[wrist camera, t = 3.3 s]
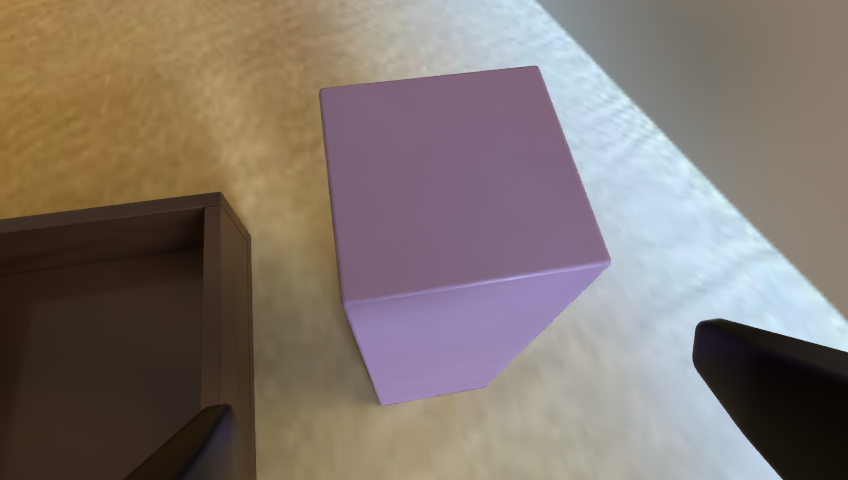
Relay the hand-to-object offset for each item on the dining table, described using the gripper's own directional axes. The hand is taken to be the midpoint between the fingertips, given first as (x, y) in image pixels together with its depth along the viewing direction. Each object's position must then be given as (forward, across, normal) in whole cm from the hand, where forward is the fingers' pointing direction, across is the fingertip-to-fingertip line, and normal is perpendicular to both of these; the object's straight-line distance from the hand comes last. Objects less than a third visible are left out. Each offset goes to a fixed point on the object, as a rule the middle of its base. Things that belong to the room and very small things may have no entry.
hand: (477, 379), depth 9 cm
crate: (+10, +12, +5) cm, 16 cm away
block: (+9, 0, +5) cm, 11 cm away
